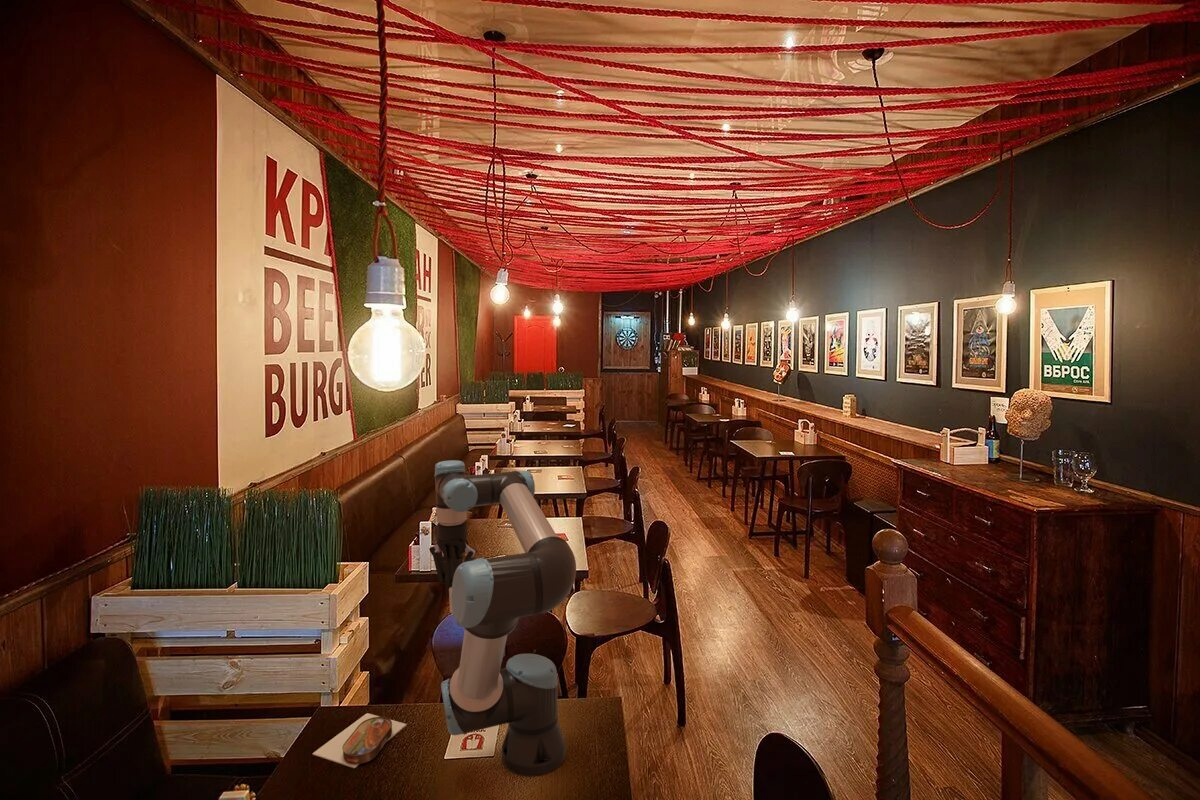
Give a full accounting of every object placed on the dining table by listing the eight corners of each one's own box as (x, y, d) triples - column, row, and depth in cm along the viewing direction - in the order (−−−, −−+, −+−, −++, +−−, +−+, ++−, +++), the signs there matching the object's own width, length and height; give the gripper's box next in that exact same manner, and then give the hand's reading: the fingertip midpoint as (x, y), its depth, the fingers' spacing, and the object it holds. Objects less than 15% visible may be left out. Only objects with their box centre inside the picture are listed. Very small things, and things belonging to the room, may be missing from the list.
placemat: (406, 725, 167) (406, 724, 167) (354, 768, 151) (354, 767, 151) (367, 714, 172) (367, 713, 172) (312, 754, 156) (312, 753, 156)
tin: (369, 756, 150) (335, 751, 151) (369, 769, 151) (334, 763, 152) (398, 717, 165) (366, 713, 166) (397, 729, 166) (366, 724, 167)
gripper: (481, 519, 168) (484, 608, 170) (438, 515, 172) (442, 602, 174) (466, 527, 161) (469, 620, 163) (421, 523, 165) (425, 613, 167)
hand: (455, 610), depth 169 cm, fingers closed
